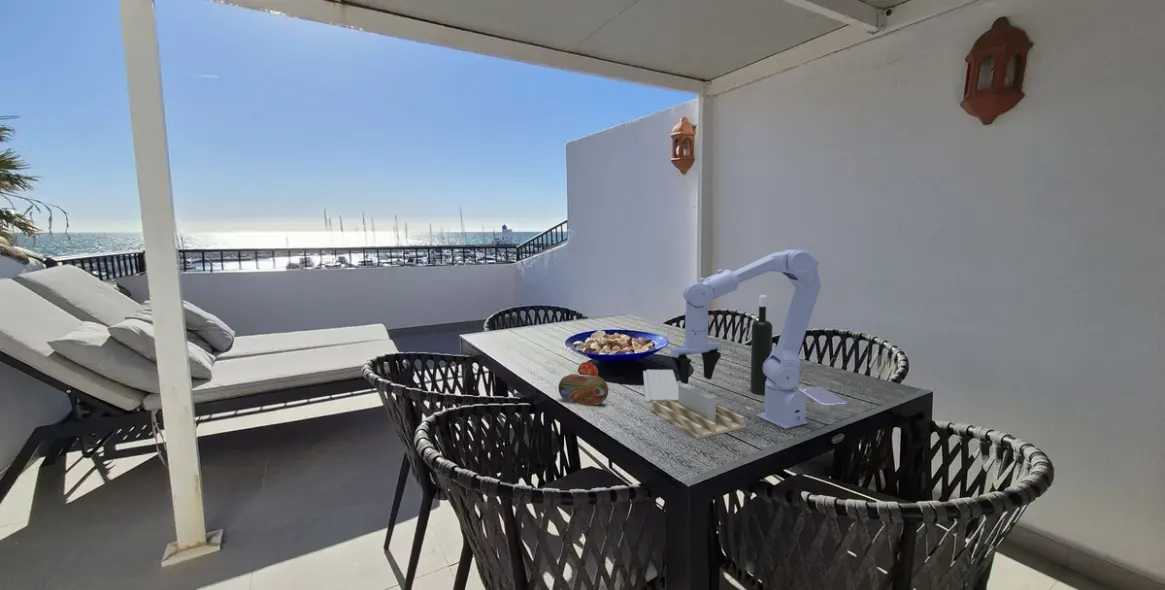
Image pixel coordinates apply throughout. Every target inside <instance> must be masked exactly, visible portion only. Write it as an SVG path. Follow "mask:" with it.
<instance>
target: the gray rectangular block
mask: <svg viewBox="0 0 1165 590" xmlns="http://www.w3.org/2000/svg"><path fill="white" fill-rule="evenodd" d="M678 388H679V405H681V406H683V407H685V408H687V409H689V410H691V411H692V412H694V413H696V414H698V415H700V416H702V417H704V418H706V419H708V420H710V421H712V422H714V423H715V424H716V404H717V396H715V395H713V394H711V393H708V392H707V391H704V390H701V389H700V388H697V387H695V386H692V385H690V384H689V383H688V384H684V383H681V384H678Z"/></svg>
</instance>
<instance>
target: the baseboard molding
mask: <svg viewBox="0 0 1165 590" xmlns="http://www.w3.org/2000/svg"><path fill="white" fill-rule="evenodd" d="M645 368H646V370H643V369H645ZM647 368H648V369H647ZM654 368H660V365H659V366H658V365H657V366H656V365H654ZM673 368H674V367H673V366H672V367H671V369H649V367H644V366H643V368H641V369H640V372H641V373H642V374H643V375H642V376H643V385H644V388H643V389H644V395H645V396H644V398H645V403H647V404H648V403H649V404H652V401H657V402H658V403H660V404H664V399H669V400H671V401H673V402H675V403H679V384H678V381H677V379H676V376H675V372H674V370H673Z"/></svg>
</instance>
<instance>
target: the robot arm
mask: <svg viewBox="0 0 1165 590" xmlns="http://www.w3.org/2000/svg"><path fill="white" fill-rule="evenodd" d="M818 266H819V261H818V260H817V259H816V258H815V256H814V254H812V253H811V251H809V250H807V249H791V248H785V249H783V250H780V251H777V252H773V253H770V254H768V255H766V256H763V257H761V258H759V259H758V260H755V261H753V262H751V263H748V264H747V265H745V266H742V267H741V268H739V269H736V270H734V271H732V270H730V269H724V270H723V268H720V269H718V270H716V273H714V274H712V275H710V276H708V277H705V278H704V277H701V278H699V282H691V283H689V284H687V286H686V287H685V288H684V291H683V293H682V294H683V295H682V296H683V298H684V300H685V301H686V302H685V312H684V313H685V314H684V315H685V318H684V322H685V324H684V325H685V326H684V327H685V329H684V331H685V332H684V334H685V339H684V345H680V346H677V347H673V348H671V349H670V352H671V353H670V356H671V358H672V361H673V363H674V364H675V366H676V368H677V371H678V375H679V378H680V382H681V384H688V385H689V377H690V375H689V373H690V372H689V371H690V365H691V362H692V359H691V358H688V356H690V355H696V354H701V358H702V363H703V378H704V379H707V380H712V377H713V376H714V375H713V374H714V370H715V368H716V365H717V364H718V361H720V360H719V359H721V357H722V356H721V355H722V353H721V350H722V344H721V343H720V342H709V309H708V308H709V303H710V302H711V300H716V299H718V298H720V297H723V296H725V295H727V294H729V293H733V292H734V291H736V290H737V289H738V287H739V285H740V283H743V282H746V281H748V280H751V279H752V278H753V279H754V278H756V277H759V276H762V275H764V274H767V273H768V272H777V273H782V274H783V275H785V277H787V278H788V279H789V281H790V282H791V284H792V286H793V287H794V292H793V295H792V298H791V301H790V304H789V307H788V311H787V314H786V317H785V321H784V323H783V327H782V330H781V333H780V336H779V339H778V340H777V341H778V342H777V345H776V347H774V348H773V349H772V351H771V354H770V356H769V358H768V359H767V360H766V361H765V362H764V364H763V373H764V374H765V376H766V377H767V380H766V382H765V395H764V411H763V412H762V413H757V414H756V417H757V418H760V419H762V420H765V421H767V422H769V423H770V424H771V423H772V424H773V425H776V426H778V427H780V428H782V429H785V430H786V429H787V430H788V429H790V428H795V427H799V426H801V425H802V426H803V425H806V424H808V421H807V420H806V415H807V413H806V412H807V411H806V410H807V409H806V408H807V399H806V396H805V393H803V392H801V391H800V390H799V389H797V386H798V385H799V383H800V380H801V374H800V368H801V365H802V363H801V358H800V351H801V348H802V344H803V342H804V339H805V335H806V332H807V329H808V327H809V323H810V320H811V317H812V314H813V311H814V309H815V305H816V301H817V299H818V295H819V293H820V290H821V280H820V275H819V270H818Z"/></svg>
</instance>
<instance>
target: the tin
mask: <svg viewBox="0 0 1165 590" xmlns="http://www.w3.org/2000/svg"><path fill="white" fill-rule="evenodd" d="M558 393H559V395H560V397H561V399H563V401H565V402H567V403H568V402H571V403H570V404H574V403H579V404H578V405H583V404H586V405H585V406H593V407H594V406H599V405H602V404H603V403H604V401H606V399H607V398H608V395H609V386H608V383H607V382H606V380H604V378H603V377H600V376H599V375H598V376H590V375H580V374H579V373H578V374H576V373H570V374H568V375H565V376H563V377H562V378H561V379H560V381H559V383H558Z"/></svg>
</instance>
